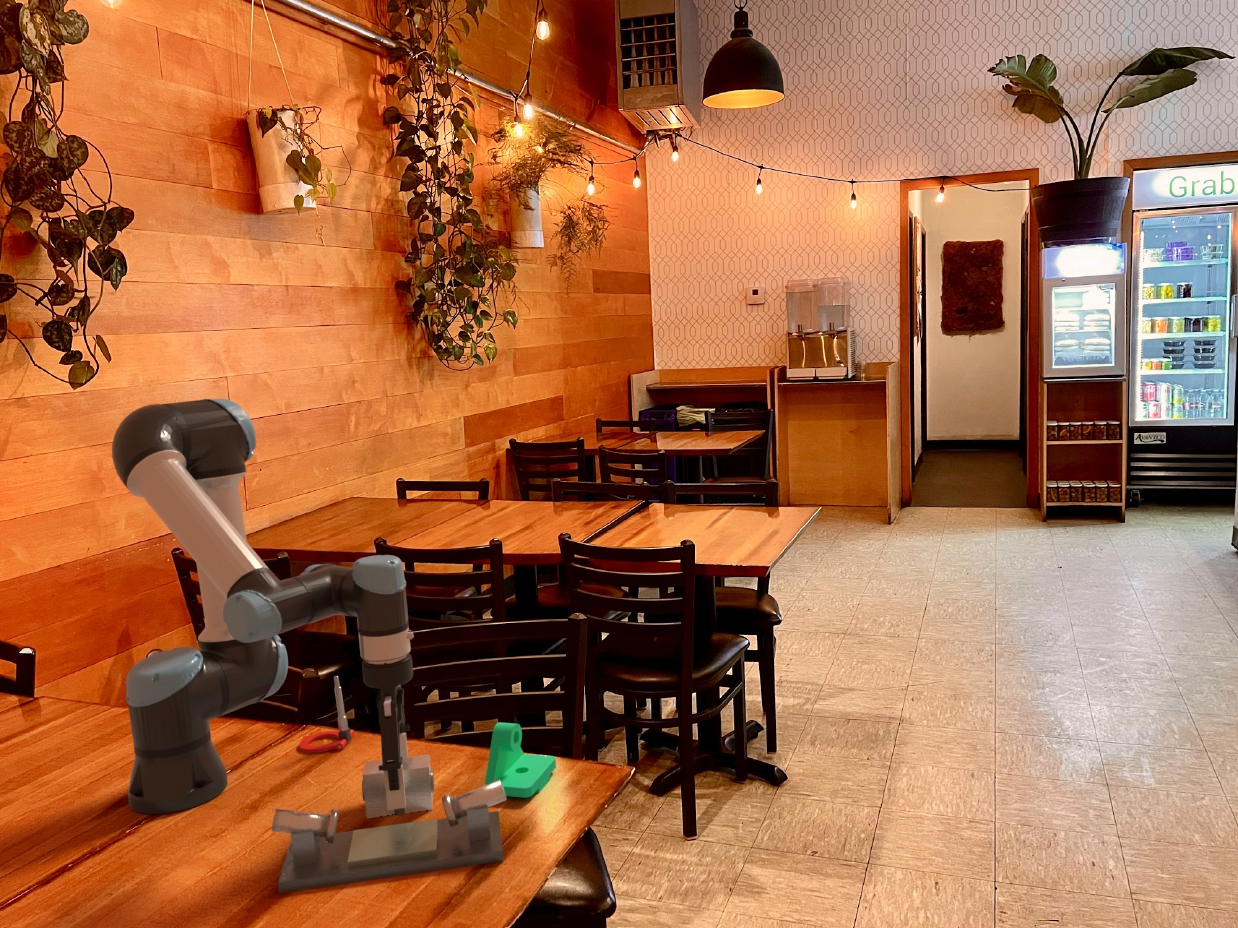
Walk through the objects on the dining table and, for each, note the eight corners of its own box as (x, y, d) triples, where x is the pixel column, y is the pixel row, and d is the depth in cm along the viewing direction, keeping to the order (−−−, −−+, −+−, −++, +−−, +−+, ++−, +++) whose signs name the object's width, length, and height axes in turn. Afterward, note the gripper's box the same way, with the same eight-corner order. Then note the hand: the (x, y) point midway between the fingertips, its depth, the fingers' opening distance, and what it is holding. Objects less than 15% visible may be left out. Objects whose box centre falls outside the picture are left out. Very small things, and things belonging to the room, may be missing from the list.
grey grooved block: (363, 819, 152) (359, 775, 151) (366, 804, 157) (362, 761, 156) (435, 809, 154) (431, 766, 153) (435, 795, 159) (432, 753, 158)
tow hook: (292, 756, 179) (342, 752, 178) (282, 688, 177) (332, 683, 176) (309, 738, 187) (357, 734, 186) (299, 672, 185) (347, 668, 185)
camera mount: (530, 804, 154) (525, 741, 153) (485, 800, 156) (480, 738, 155) (558, 771, 165) (554, 712, 164) (516, 767, 168) (512, 709, 166)
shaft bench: (269, 894, 132) (262, 831, 131) (283, 849, 144) (277, 791, 143) (512, 859, 137) (507, 798, 136) (507, 819, 149) (502, 762, 148)
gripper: (408, 679, 141) (421, 822, 144) (414, 631, 165) (424, 754, 167) (354, 685, 140) (368, 829, 143) (367, 636, 164) (379, 760, 166)
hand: (398, 789), depth 155 cm, fingers open, 12 cm apart
